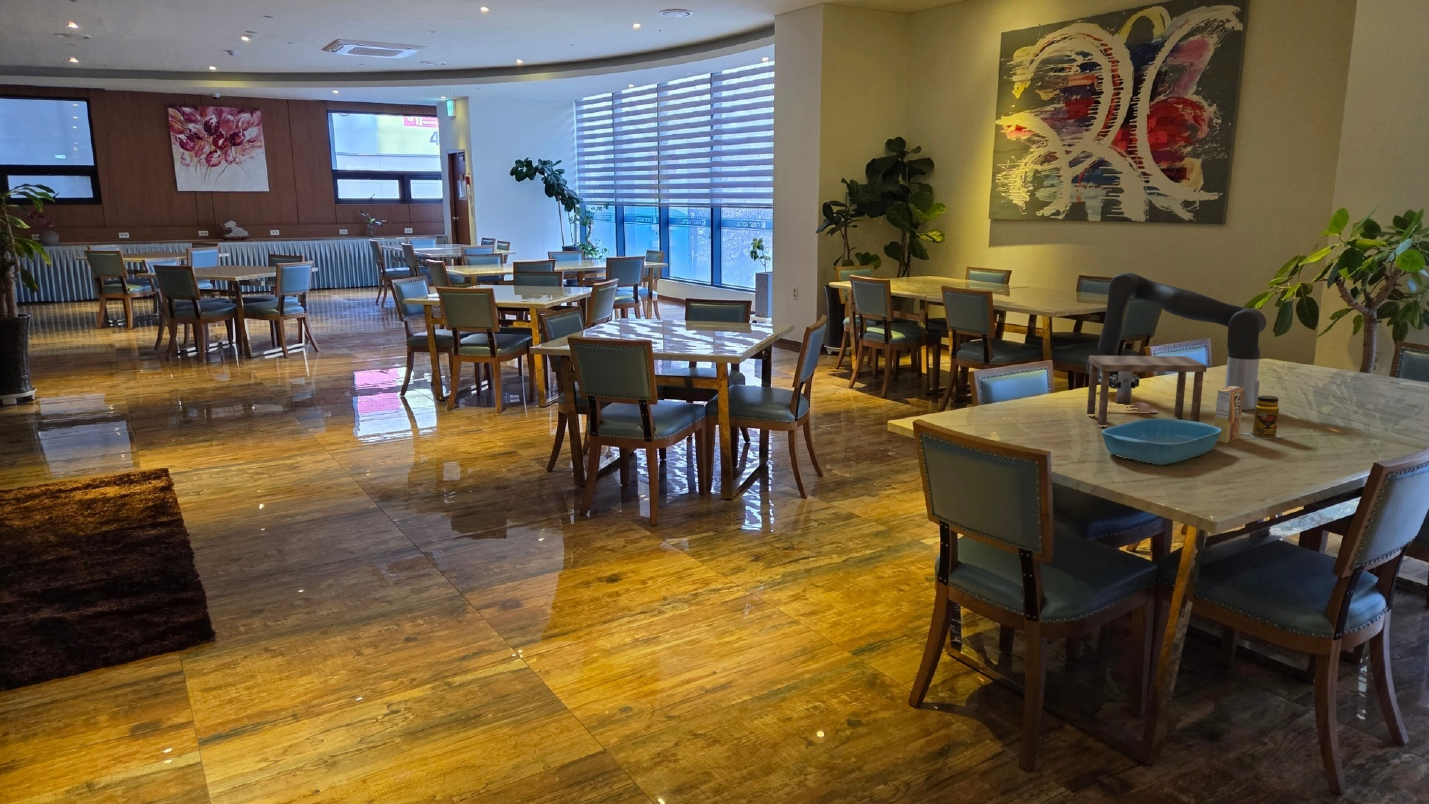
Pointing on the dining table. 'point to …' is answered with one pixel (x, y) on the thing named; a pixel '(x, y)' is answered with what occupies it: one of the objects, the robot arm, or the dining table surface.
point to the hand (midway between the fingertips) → (1126, 385)
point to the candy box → (1229, 412)
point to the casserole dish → (1161, 440)
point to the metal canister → (1124, 387)
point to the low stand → (1145, 365)
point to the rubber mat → (1142, 407)
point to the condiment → (1265, 418)
